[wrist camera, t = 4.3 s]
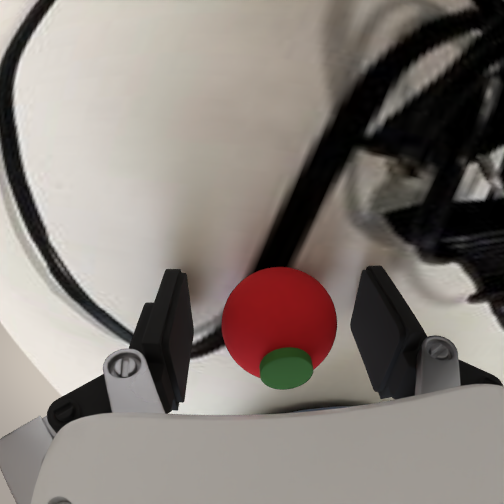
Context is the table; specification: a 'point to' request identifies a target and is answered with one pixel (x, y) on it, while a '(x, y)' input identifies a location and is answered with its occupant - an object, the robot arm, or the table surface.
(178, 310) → the robot arm
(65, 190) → the table surface
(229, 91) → the table surface
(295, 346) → the tomato
